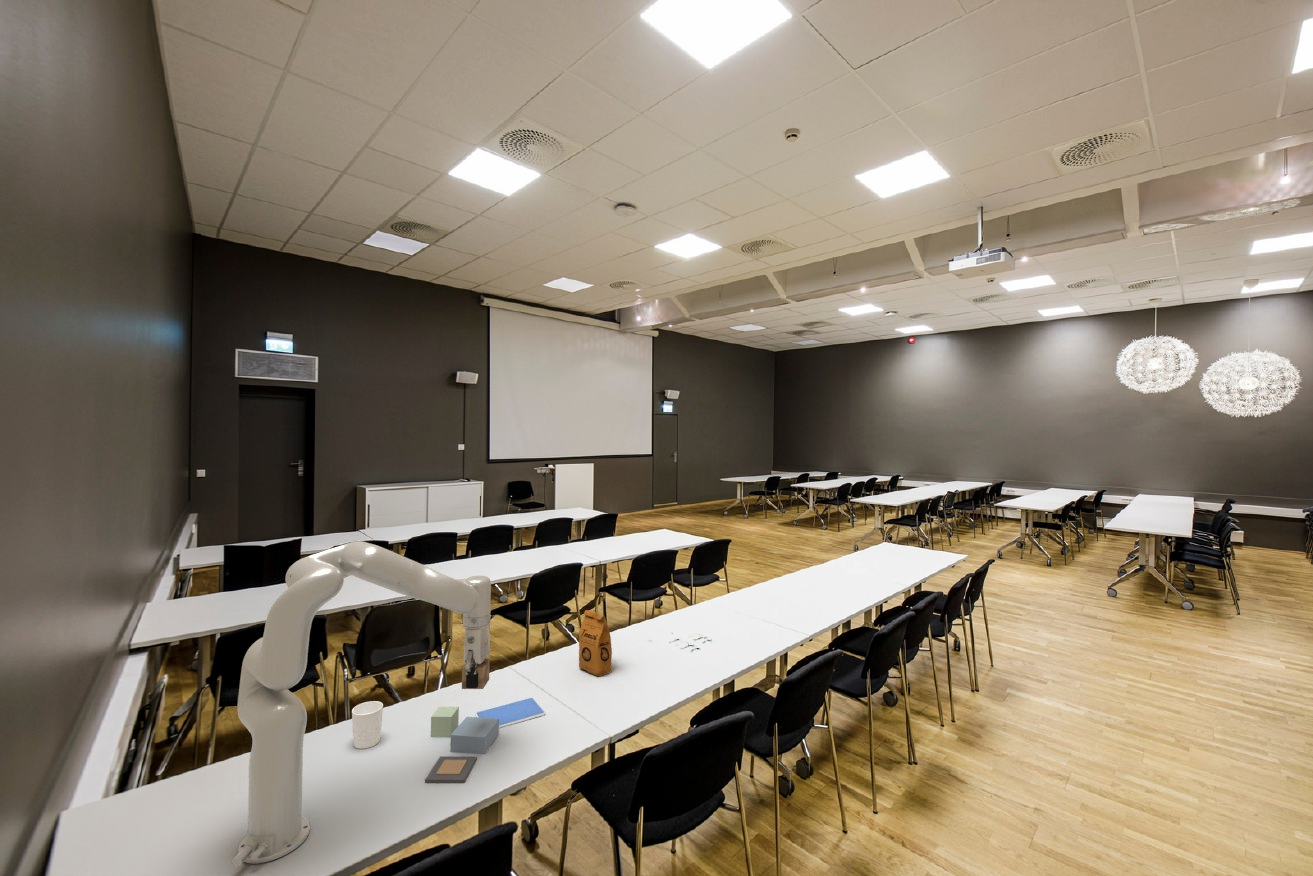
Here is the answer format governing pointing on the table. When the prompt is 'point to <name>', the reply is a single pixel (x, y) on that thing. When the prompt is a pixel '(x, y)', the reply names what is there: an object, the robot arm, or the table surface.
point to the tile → (451, 769)
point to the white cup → (367, 724)
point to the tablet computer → (513, 712)
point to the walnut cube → (482, 674)
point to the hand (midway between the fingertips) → (475, 681)
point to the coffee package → (595, 644)
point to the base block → (474, 735)
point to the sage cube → (444, 721)
